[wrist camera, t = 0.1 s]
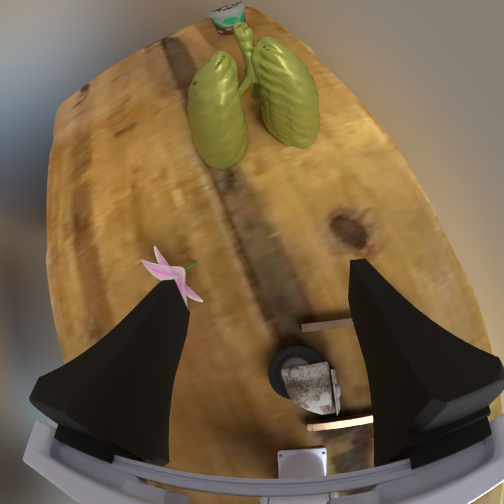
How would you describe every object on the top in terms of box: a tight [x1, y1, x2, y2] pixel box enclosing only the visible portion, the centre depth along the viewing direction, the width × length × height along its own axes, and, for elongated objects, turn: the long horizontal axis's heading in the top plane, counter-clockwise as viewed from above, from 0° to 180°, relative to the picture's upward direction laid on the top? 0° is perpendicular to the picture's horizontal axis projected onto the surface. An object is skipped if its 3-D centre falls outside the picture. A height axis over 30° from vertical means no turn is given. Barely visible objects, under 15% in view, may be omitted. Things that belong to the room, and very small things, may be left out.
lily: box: [142, 246, 204, 308], centre depth 43 cm, size 12×12×10 cm
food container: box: [207, 0, 246, 35], centre depth 59 cm, size 12×6×10 cm, turn 116°
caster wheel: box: [268, 345, 341, 416], centre depth 36 cm, size 7×11×10 cm
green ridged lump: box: [187, 22, 320, 169], centre depth 40 cm, size 25×16×24 cm, turn 102°
